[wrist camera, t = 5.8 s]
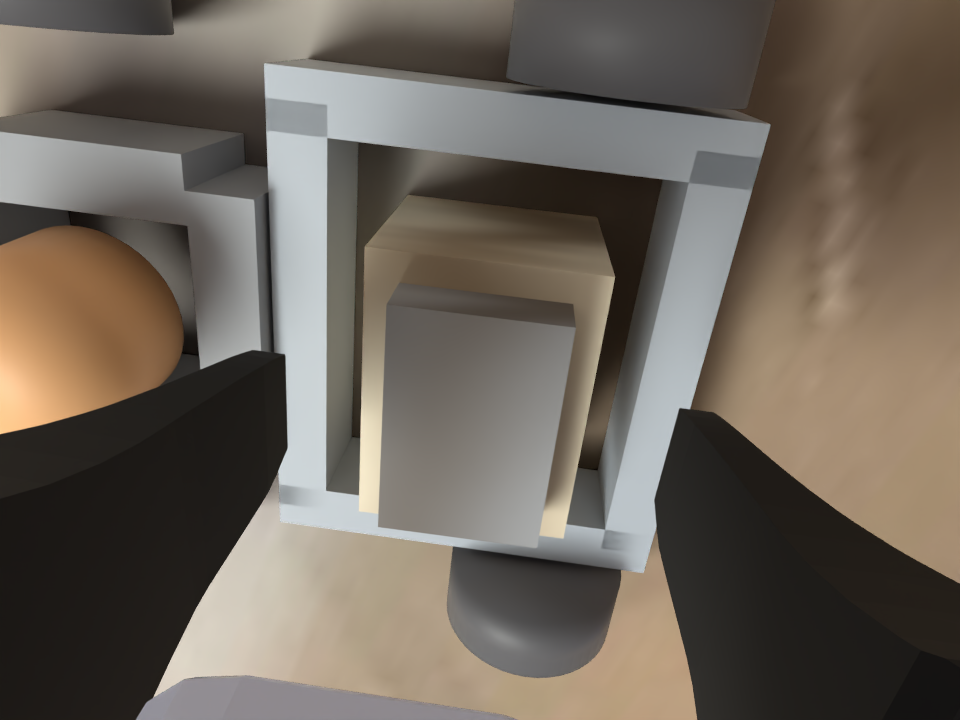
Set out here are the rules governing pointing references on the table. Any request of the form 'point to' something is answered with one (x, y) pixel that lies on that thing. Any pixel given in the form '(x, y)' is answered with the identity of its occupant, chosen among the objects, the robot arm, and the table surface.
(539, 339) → the two-tone stepped block
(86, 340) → the orange rounded peg
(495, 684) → the table surface
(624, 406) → the frame
